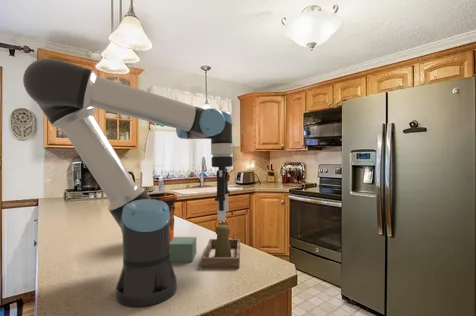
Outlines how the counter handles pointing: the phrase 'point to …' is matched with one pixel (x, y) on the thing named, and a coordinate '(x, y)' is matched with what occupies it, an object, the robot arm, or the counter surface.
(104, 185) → the robot arm
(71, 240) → the counter surface
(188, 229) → the counter surface
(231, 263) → the wooden frame
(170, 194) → the vessel
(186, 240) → the stand
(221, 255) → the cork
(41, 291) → the counter surface
